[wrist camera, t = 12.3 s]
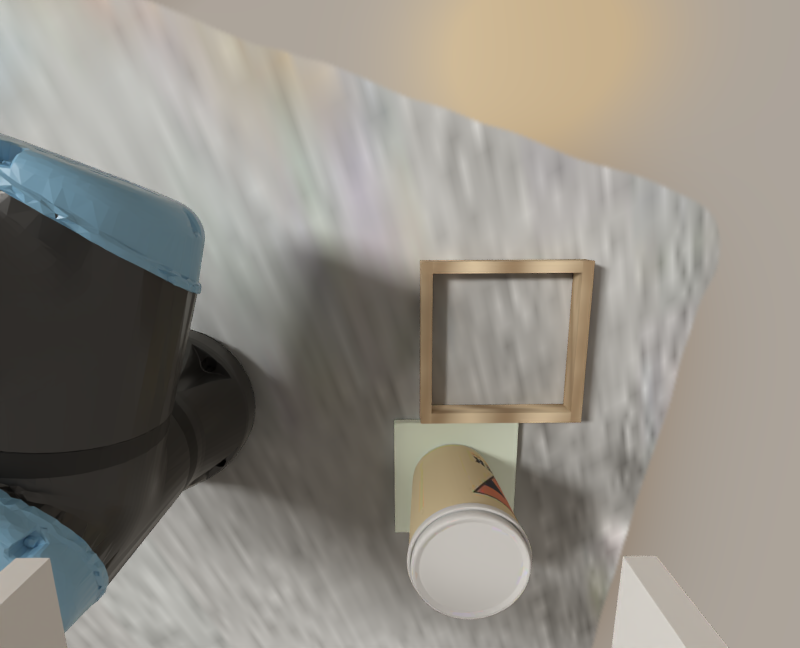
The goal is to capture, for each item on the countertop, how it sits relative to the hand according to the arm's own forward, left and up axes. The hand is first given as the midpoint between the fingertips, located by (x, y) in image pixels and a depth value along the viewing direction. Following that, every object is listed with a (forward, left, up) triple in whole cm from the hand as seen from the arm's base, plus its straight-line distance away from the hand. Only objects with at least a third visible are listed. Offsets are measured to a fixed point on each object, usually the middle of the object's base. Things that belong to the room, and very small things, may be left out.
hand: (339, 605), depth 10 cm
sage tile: (+7, -16, -32) cm, 36 cm away
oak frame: (+11, -2, -32) cm, 34 cm away
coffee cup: (+7, -16, -31) cm, 35 cm away
